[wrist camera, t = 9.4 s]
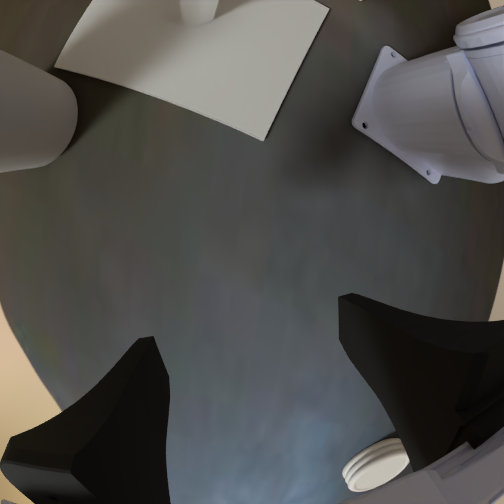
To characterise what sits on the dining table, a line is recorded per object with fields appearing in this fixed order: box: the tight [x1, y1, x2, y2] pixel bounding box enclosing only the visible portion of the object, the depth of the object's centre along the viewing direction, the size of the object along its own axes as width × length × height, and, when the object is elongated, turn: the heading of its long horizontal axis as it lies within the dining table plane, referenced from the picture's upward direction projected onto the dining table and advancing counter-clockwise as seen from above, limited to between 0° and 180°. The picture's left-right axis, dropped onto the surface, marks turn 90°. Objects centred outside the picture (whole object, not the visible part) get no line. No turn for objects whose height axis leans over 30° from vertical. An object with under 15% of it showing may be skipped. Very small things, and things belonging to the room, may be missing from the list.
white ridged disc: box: [343, 438, 409, 492], centre depth 32 cm, size 10×10×4 cm
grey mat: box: [54, 0, 329, 141], centre depth 15 cm, size 16×12×1 cm
